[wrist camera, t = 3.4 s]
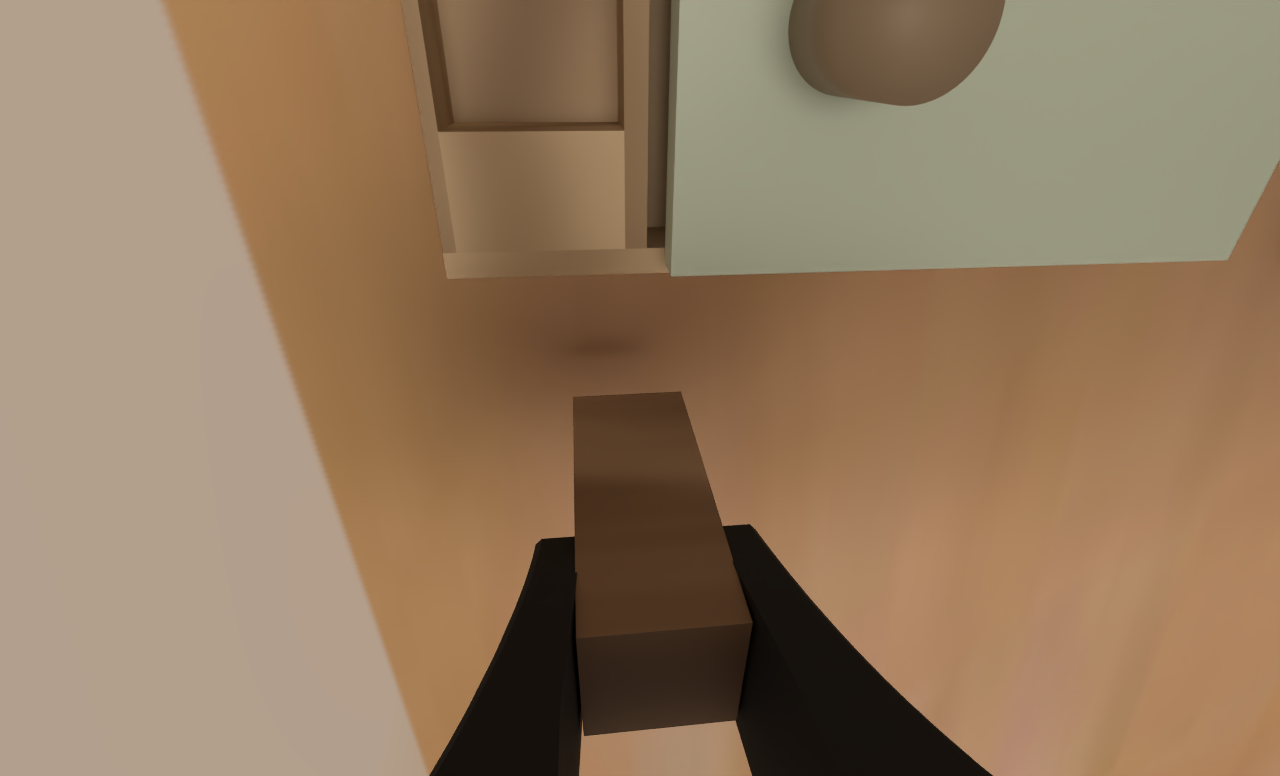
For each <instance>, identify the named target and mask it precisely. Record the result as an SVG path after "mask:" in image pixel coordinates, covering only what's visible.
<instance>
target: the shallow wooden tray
mask: <svg viewBox="0 0 1280 776" xmlns="http://www.w3.org/2000/svg"><path fill="white" fill-rule="evenodd" d="M401 5H402V11H403V17H404V23H405V29H406V35H407V41H408V47H409V53H410V59H411V65H412V71H413V77H414V83H415V89H416V95H417V101H418V107H419V113H420V119H421V125H422V131H423V137H424V143H425V149H426V155H427V161H428V167H429V173H430V179H431V185H432V191H433V197H434V203H435V209H436V215H437V221H438V227H439V233H440V239H441V245H442V251H443V257H444V264H445V270H446V276H447V279H468V278H502V277H537V276H572V275H607V274H642V273H669V271H668V269H667V267H666V265H665V226H666V188H667V150H668V112H669V74H670V36H671V0H401Z"/></svg>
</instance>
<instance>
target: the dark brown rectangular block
mask: <svg viewBox="0 0 1280 776" xmlns="http://www.w3.org/2000/svg"><path fill="white" fill-rule="evenodd" d="M573 427H574V512H575V572H577V581H576V591H575V597H576V645H577V657H578V669H579V682H580V694H581V706H582V718H583V731H584V736H589V735H598V734H608V733H618V732H627V731H637V730H647V729H656V728H666V727H676V726H685V725H695V724H705V723H714V722H724V721H734V720H736V719H737V713H738V707H739V701H740V695H741V689H742V683H743V677H744V671H745V666H746V660H747V654H748V648H749V642H750V636H751V630H752V624H753V622H752V619H751V616H750V613H749V610H748V606H747V603H746V600H745V597H744V593H743V590H742V587H741V584H740V581H739V577H738V574H737V572H736V569H735V567H734V565H733V562H732V561H733V558H732V555H731V552H730V548H729V545H728V542H727V539H726V535H725V532H724V529H723V526H722V523H721V519H720V516H719V513H718V510H717V506H716V503H715V500H714V497H713V494H712V490H711V487H710V484H709V481H708V477H707V474H706V471H705V468H704V465H703V461H702V458H701V455H700V452H699V449H698V445H697V442H696V439H695V436H694V432H693V429H692V426H691V423H690V420H689V416H688V413H687V410H686V407H685V403H684V400H683V397H682V394H681V392H664V393H644V394H624V395H604V396H584V397H573Z"/></svg>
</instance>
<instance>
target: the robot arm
mask: <svg viewBox="0 0 1280 776" xmlns="http://www.w3.org/2000/svg"><path fill="white" fill-rule="evenodd" d="M723 529H724V532H725V535H726V539H727V542H728V545H729V548H730V552H731V555H732V558H733V561H732V562H733V565H734V567H735V569H736V572H737V574H738V577H739V581H740V584H741V587H742V590H743V593H744V597H745V600H746V603H747V606H748V610H749V613H750V616H751V619H752V622H753V624H752V630H751V636H750V642H749V648H748V654H747V660H746V666H745V671H744V677H743V683H742V689H741V695H740V701H739V707H738V713H737V719H736V723H737V727H738V730H739V733H740V737H741V740H742V743H743V747H744V750H745V753H746V757H747V760H748V763H749V767H750V770H751V773H752V776H993V775H991V774H990V773H989V772H988V771H986V770H985V769H984V768H983V767H981V766H980V765H979V764H978V763H977V762H975V761H974V760H973V759H972V758H971V757H970V756H969V755H967V754H966V753H965V752H964V751H963V750H962V749H960V748H959V747H958V746H957V745H956V744H955V743H954V742H952V741H951V740H950V739H949V738H948V737H947V736H945V735H944V734H943V733H942V732H941V731H940V730H939V729H938V728H936V727H935V726H934V725H933V724H932V723H931V722H930V721H929V720H928V719H927V718H926V717H924V716H923V715H922V714H921V713H920V712H919V711H918V710H917V709H916V708H915V707H913V706H912V705H911V704H910V703H909V702H908V701H907V700H906V699H905V698H904V697H903V696H902V695H901V694H900V693H899V692H898V691H897V690H896V689H895V688H894V687H893V686H892V685H891V684H890V683H889V682H887V681H886V680H885V679H884V678H883V677H882V676H881V675H880V674H879V673H878V672H877V670H876V669H875V668H874V667H873V666H872V665H871V664H870V663H869V662H868V661H867V660H866V659H865V658H864V657H863V656H862V655H861V654H860V653H859V652H858V651H857V650H856V649H855V648H854V647H853V646H852V645H851V643H850V642H849V641H848V640H847V639H846V638H845V637H844V636H843V635H842V634H841V633H840V632H839V631H838V629H837V628H836V627H835V626H834V625H833V624H832V623H831V621H830V620H829V619H828V618H827V617H826V616H825V615H824V614H823V612H822V611H821V610H820V609H819V608H818V607H817V606H816V604H815V603H814V602H813V601H812V600H811V599H810V598H809V596H808V595H807V594H806V593H805V592H804V590H803V589H802V588H801V587H800V586H799V585H798V583H797V582H796V581H795V580H794V578H793V577H792V576H791V575H790V573H789V572H788V571H787V570H786V569H785V567H784V566H783V565H782V564H781V562H780V561H779V560H778V559H777V557H776V556H775V555H774V553H773V552H772V551H771V550H770V548H769V547H768V546H767V544H766V543H765V542H764V540H763V539H762V538H761V536H760V535H759V534H758V532H757V531H756V530H755V529H754V528H753V527H752V526H751V525H750V524H747V525H733V526H723ZM576 581H577V572H575V537H562V538H548V539H541V540H540V541H539V542H538V543H537V544H536V546H535V550H534V555H533V558H532V562H531V565H530V568H529V572H528V575H527V578H526V581H525V583H524V586H523V589H522V591H521V594H520V597H519V599H518V602H517V605H516V607H515V610H514V612H513V614H512V617H511V619H510V621H509V623H508V626H507V628H506V630H505V633H504V635H503V637H502V640H501V642H500V644H499V646H498V649H497V651H496V653H495V655H494V657H493V659H492V661H491V663H490V665H489V667H488V669H487V671H486V673H485V675H484V677H483V679H482V681H481V683H480V685H479V687H478V689H477V691H476V693H475V695H474V697H473V699H472V701H471V703H470V705H469V707H468V709H467V711H466V713H465V714H464V716H463V718H462V720H461V722H460V723H459V725H458V727H457V729H456V731H455V733H454V734H453V736H452V738H451V740H450V741H449V743H448V745H447V747H446V748H445V750H444V752H443V753H442V755H441V757H440V758H439V760H438V762H437V764H436V765H435V767H434V769H433V770H432V772H431V774H430V775H429V776H579V765H580V749H581V732H582V706H581V694H580V682H579V669H578V657H577V645H576V597H575V591H576Z"/></svg>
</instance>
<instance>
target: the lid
mask: <svg viewBox="0 0 1280 776" xmlns="http://www.w3.org/2000/svg"><path fill="white" fill-rule="evenodd" d="M1279 160H1280V0H671V36H670V74H669V112H668V150H667V188H666V226H665V265H666V267H667V269H668V271H669V273H670V276H671V277H673V276H707V275H742V274H776V273H810V272H844V271H878V270H912V269H946V268H980V267H1015V266H1049V265H1083V264H1117V263H1151V262H1185V261H1219V260H1228V258H1229V256H1230V254H1231V252H1232V251H1233V249H1234V247H1235V245H1236V243H1237V241H1238V239H1239V237H1240V235H1241V233H1242V231H1243V229H1244V227H1245V225H1246V223H1247V222H1248V220H1249V218H1250V216H1251V214H1252V212H1253V210H1254V208H1255V206H1256V204H1257V202H1258V200H1259V198H1260V196H1261V194H1262V193H1263V191H1264V189H1265V187H1266V185H1267V183H1268V181H1269V179H1270V177H1271V175H1272V173H1273V171H1274V169H1275V167H1276V165H1277V163H1278V162H1279Z"/></svg>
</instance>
